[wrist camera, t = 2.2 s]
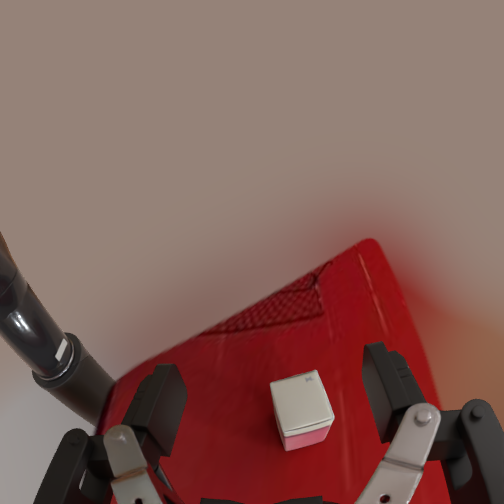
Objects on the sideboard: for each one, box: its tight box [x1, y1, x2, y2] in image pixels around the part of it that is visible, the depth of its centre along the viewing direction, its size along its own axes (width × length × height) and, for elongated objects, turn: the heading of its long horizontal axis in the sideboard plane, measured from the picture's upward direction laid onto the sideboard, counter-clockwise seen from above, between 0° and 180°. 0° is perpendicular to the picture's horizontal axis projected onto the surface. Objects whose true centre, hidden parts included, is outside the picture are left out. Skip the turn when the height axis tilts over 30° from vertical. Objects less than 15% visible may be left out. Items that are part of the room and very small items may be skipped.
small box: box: [270, 370, 334, 451], centre depth 23 cm, size 5×4×8 cm
